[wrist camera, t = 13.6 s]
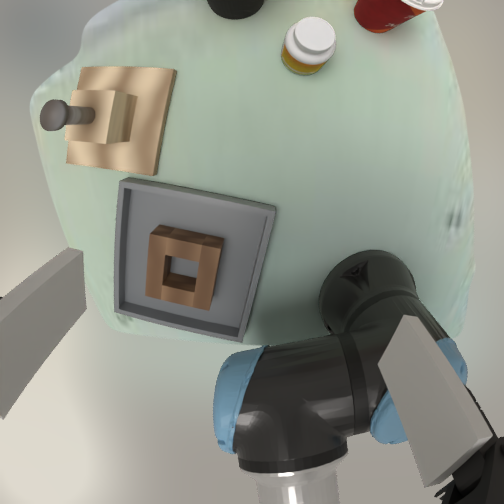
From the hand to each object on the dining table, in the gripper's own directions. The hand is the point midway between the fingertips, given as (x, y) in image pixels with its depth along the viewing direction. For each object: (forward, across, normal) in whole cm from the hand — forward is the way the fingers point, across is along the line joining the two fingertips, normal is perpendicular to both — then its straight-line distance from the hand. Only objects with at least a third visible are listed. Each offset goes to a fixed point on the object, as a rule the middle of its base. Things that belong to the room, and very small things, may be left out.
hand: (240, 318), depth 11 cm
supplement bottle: (+29, -2, -18) cm, 34 cm away
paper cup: (+29, -10, -28) cm, 42 cm away
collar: (+28, +7, +12) cm, 31 cm away
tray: (+29, +7, +12) cm, 32 cm away
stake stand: (+29, +20, -6) cm, 35 cm away
